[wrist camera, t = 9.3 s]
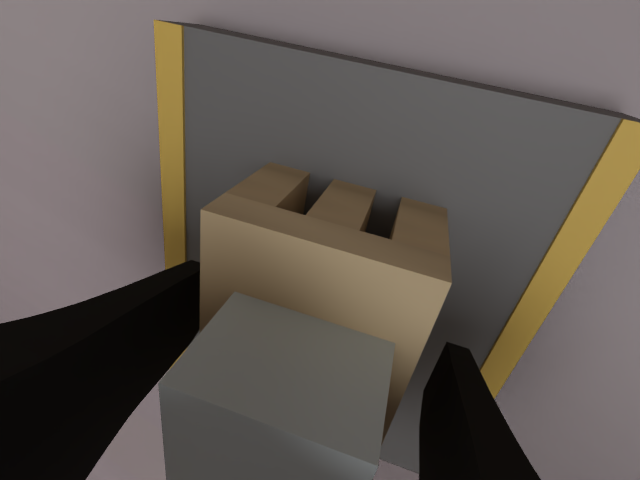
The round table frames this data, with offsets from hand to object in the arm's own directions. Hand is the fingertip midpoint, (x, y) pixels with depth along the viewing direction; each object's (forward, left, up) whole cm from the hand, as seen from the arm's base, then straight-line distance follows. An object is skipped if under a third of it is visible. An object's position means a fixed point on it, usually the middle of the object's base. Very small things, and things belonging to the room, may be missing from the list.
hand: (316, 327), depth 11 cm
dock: (0, 0, -3) cm, 3 cm away
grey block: (0, 0, +2) cm, 2 cm away
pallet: (0, 0, -1) cm, 1 cm away
